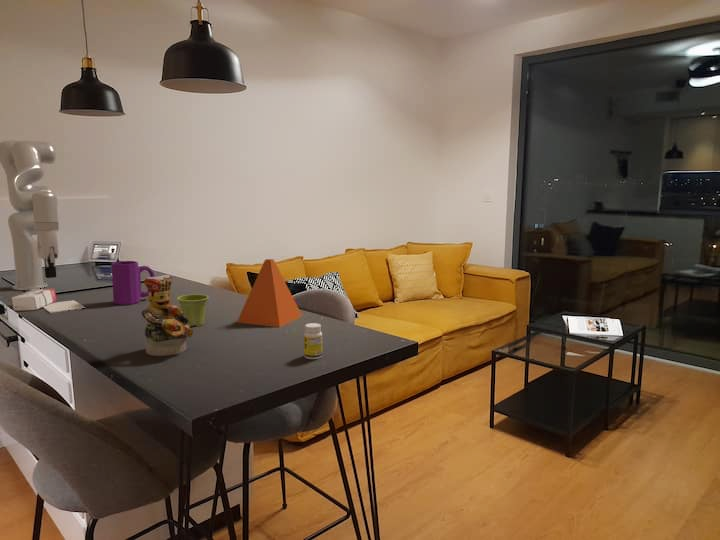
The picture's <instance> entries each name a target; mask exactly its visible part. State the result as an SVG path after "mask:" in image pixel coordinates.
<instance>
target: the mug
mask: <svg viewBox="0 0 720 540" xmlns="http://www.w3.org/2000/svg"><path fill="white" fill-rule="evenodd" d="M110 265H111V279H112V280H111V281H112V294H113V296H112V297H113V299H112V300H113V304H115V305H118V306H126V305H127V306H128V305H129V306H130V305H134V304H138V303H140V302H141V298H148V296H149V293H148V290H147V291H142V282H141V279H142V277H141V273H142V272H144V271H147V272H148V274H149V275H150V276H149V277H156V276H155V273H154V271H153V270H152V268H151V267H150V266H148V265H141V266H139V262H138V261H134V260H122V261H113V262H111V263H110Z"/></svg>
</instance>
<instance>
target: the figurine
mask: <svg viewBox="0 0 720 540" xmlns="http://www.w3.org/2000/svg"><path fill="white" fill-rule="evenodd" d="M172 281H173V278H172V276H171V275H170V274H163V275H158V276H155V277H150V276H148V277H145V279H144V280H143V283H144V285H145V287H146V288H147V291H148V293H149V296H147V301H148V302H150V303H149V305H148V306H147V307H146V308H145V309H144V310H142V311H141V313H140V314H141V316H142V318H144V319H145V320H146V322H147V323H146V325H145V328H144V336H145V338H146V346H145V353H146V354H147V355H149V356H150V355H151V356H157V357H158V356H159V357H160V356H172V355H177V354H180V353H183V352H184V351H186V349H187V345H186V344H187V343H186V341H187V339H189V338H190V337H192V336H193V334H194V331H193V329H192V328H191V326H190V324H189V323H188V321H189V319H188V318H187V317H186V316H185V315H184V314H183V313H182V311H181V307H178V305H172V301H171V297H170V295H171V292H170V291H171V287H172Z"/></svg>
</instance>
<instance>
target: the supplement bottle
mask: <svg viewBox="0 0 720 540" xmlns="http://www.w3.org/2000/svg"><path fill="white" fill-rule="evenodd" d="M304 330H305V331H304V334H303V356H304V358H305V359H309V360H318V359H321V358H322V357H323V333H322V325H321V323H316V322H313V323H311V322H310V323H307V324H305V326H304Z"/></svg>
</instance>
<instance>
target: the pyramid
mask: <svg viewBox="0 0 720 540" xmlns="http://www.w3.org/2000/svg"><path fill="white" fill-rule="evenodd" d="M250 290H251V291H250V292H249V294H248V296H247V299H246V301H245V303H244V306H243V308H242V310H241V311H240V314H239V316H238V319H237V321H236V323H239V324H246V325H247V324H249V325H257V326H266V327H272V328H273V327H274V328H281V327H283V326H285V325H288V324H289V323H292V322H293V321H296V320H297V319H300V318H301V317H303V314H302V312H301V310H300V308H299V307H298V305H297V303H296V301H295V298H294V297H293V295H292V292H291V291H290V289H289V287H288V285H287V283H286V281H285V280H284V277H283V275H282V273H281V271H280V269H279V267H278V266H277V264H276V262H275V259H273V258H266V259H264V261H263V264H261V268H260V270H259V272H258V274H257V277H256V279H255V281H254V284H253V285H252V287H251V289H250Z"/></svg>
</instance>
